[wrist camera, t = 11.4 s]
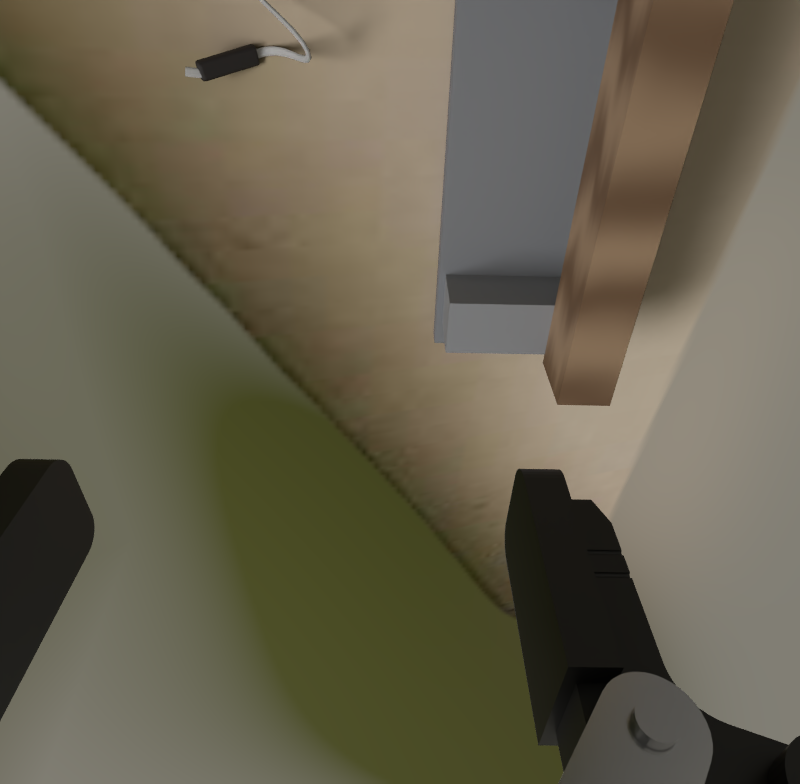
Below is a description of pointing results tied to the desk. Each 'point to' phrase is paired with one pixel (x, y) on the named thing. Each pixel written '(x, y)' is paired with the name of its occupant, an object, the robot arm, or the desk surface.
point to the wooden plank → (628, 185)
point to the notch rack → (514, 165)
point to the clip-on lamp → (245, 56)
